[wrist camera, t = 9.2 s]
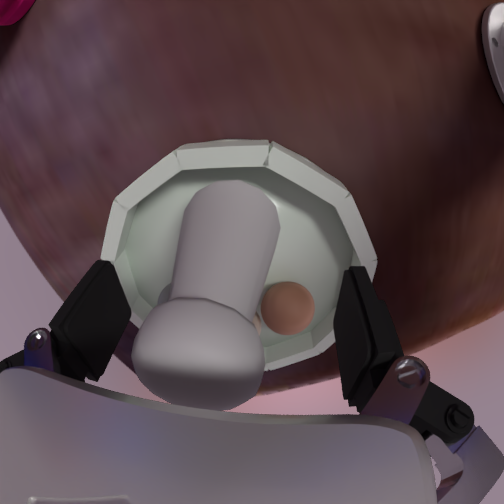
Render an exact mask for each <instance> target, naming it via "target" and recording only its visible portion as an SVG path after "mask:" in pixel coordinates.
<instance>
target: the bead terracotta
mask: <svg viewBox="0 0 504 504" xmlns="http://www.w3.org/2000/svg"><path fill="white" fill-rule="evenodd" d="M314 312H315V304H314V300H313V297H312V295H311V293H310V292H309V291H308V290H307V289H306V288H305V287H304V286H302V285H301V284H298V283H295V282H290V281H287V282H280V283H278V284H276V285H274V286H272V287H271V288H270V289H269V290H268V291H267V292H266V293H265V295H264V297H263V299H262V302H261V315H262V318H263V321H264V322H265V324H266V325H267V326H268V328H269V329H271V330H272V331H274V332H275V333H278V334H281V335H294V334H297V333H299V332H301V331H303V330H304V329H305V328H307V326H308V325H309V324H310V323H311V321H312V319H313V316H314Z"/></svg>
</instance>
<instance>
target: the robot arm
mask: <svg viewBox="0 0 504 504" xmlns="http://www.w3.org/2000/svg"><path fill="white" fill-rule="evenodd" d="M482 40H483V46H484V52H485V57H486V60H487V64H488V68H489V71H490V74H491V77H492V80H493V83H494V85H495V87H496V89H497V92H498V94H499V96H500V98H501V100H502V102H503V104H504V3H495V4H492V5H490V6H488V7H487V9H486V10H485V12H484V15H483V19H482ZM131 314H132V312H131V308H130V305H129V303H128V301H127V298H126V296H125V293H124V291H123V288H122V285H121V283H120V280H119V277H118V275H117V272H116V269H115V267H114V265H113V264H111V262H110V261H108V260H97V261H96V262H95V263H94V264H93V265H92V267H91V268H90V269H89V270H88V272H87V273H86V274H85V275H84V277H83V278H82V279H81V281H80V282H79V283H78V284H77V286H76V287H75V288H74V290H73V291H72V292H71V294H70V295H69V296H68V298H67V299H66V300H65V302H64V303H63V305H62V306H61V308H60V309H59V310H58V312H57V313H56V315H55V316H54V318H53V319H52V320H51V322H50V323H49V326H50V328H51V329H52V330H51V332H49V331H48V330H47V329H46V328H38V329H35V330H34V331H32V332H31V333H30V334H29V335H28V336H27V338H26V340H25V343H24V350H22V351H20V352H18V353H16V354H14V355H12V356H10V357H8V358H6V359H4V360H3V361H1V362H0V504H479V503H480V502H481V501H482V499H483V498H484V497H485V495H486V494H487V493H488V492H489V490H490V489H491V488H492V486H493V485H494V484H495V483H496V481H497V480H498V479H499V477H500V476H501V474H502V472H503V470H504V456H503V454H502V453H501V451H500V450H499V449H498V448H497V447H496V445H495V444H494V443H493V442H492V440H491V439H490V438H489V437H488V435H487V434H486V433H485V432H484V431H483V429H482V428H481V427H480V426H478V427H475V425H474V414H473V411H472V410H471V408H470V407H469V406H468V405H467V404H466V403H464V402H463V401H461V400H459V399H458V398H456V397H454V396H453V395H451V394H450V393H448V392H447V391H445V390H443V389H442V388H440V387H438V386H437V385H435V384H434V383H432V382H430V371H429V369H428V367H427V365H426V364H425V363H424V362H423V361H422V360H420V359H419V358H417V357H414V356H404V354H403V351H402V348H401V345H400V342H399V339H398V336H397V333H396V330H395V327H394V324H393V322H392V319H391V316H390V313H389V311H388V308H387V306H386V303H385V301H383V300H378V298H377V295H376V293H375V290H374V287H373V285H372V282H371V280H370V277H369V275H368V272H367V270H366V268H365V266H350V267H349V270H345V271H344V274H343V279H342V284H341V288H340V293H339V298H338V302H337V306H336V311H335V315H334V319H333V329H334V335H335V342H336V348H337V355H338V361H339V368H340V376H341V383H342V391H343V397H344V400H347V399H348V403H349V407H350V406H356V407H357V412H359V413H360V414H359V415H350V414H348V415H347V414H346V415H344V414H343V415H269V414H249V413H236V412H225V411H215V410H207V409H199V408H192V407H186V406H179V405H174V404H168V403H163V402H158V401H153V400H148V399H143V398H139V397H135V396H130V395H126V394H122V393H119V392H114V391H111V390H107V389H104V388H100V387H97V386H94V385H91V384H88V383H85V380H84V379H85V377H87V378H88V379H90V380H93V381H96V382H98V380H99V378H100V376H102V375H103V374H104V371H105V369H106V367H107V365H108V363H109V361H110V359H111V356H112V354H113V352H114V350H115V348H116V346H117V344H118V342H119V340H120V338H121V336H122V334H123V332H124V330H125V328H126V326H127V324H128V322H129V320H130V318H131ZM430 457H432V458H433V459H434V461H435V462H436V464H435V466H436V467H437V468H438V470H439V472H440V474H441V482H440V485H439V487H438V488H437V489H436V484H435V477H434V471H433V466H432V462H431V458H430Z"/></svg>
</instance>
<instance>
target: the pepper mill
mask: <svg viewBox="0 0 504 504" xmlns="http://www.w3.org/2000/svg"><path fill="white" fill-rule="evenodd" d="M34 1H35V0H0V25H11V24H14V23H15V22H17V21H18V20H20V19H21V18H22V17H23V16H24V15H25V14H26V13H27V11H28V10H29V9H30V7H31V6H32V5H33V3H34Z"/></svg>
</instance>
